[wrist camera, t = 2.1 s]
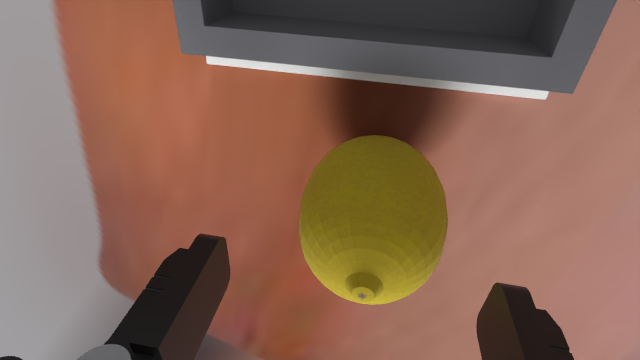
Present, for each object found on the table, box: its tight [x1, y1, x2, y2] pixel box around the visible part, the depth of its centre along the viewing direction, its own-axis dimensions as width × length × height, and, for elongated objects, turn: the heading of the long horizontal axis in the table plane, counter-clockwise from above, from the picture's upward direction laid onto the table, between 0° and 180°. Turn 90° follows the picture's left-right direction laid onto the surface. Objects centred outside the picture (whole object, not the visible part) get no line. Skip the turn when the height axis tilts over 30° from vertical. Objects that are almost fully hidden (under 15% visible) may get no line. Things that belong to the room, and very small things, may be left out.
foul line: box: [206, 56, 549, 100], centre depth 15 cm, size 14×1×1 cm, turn 88°
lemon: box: [299, 135, 448, 305], centre depth 14 cm, size 6×6×8 cm
